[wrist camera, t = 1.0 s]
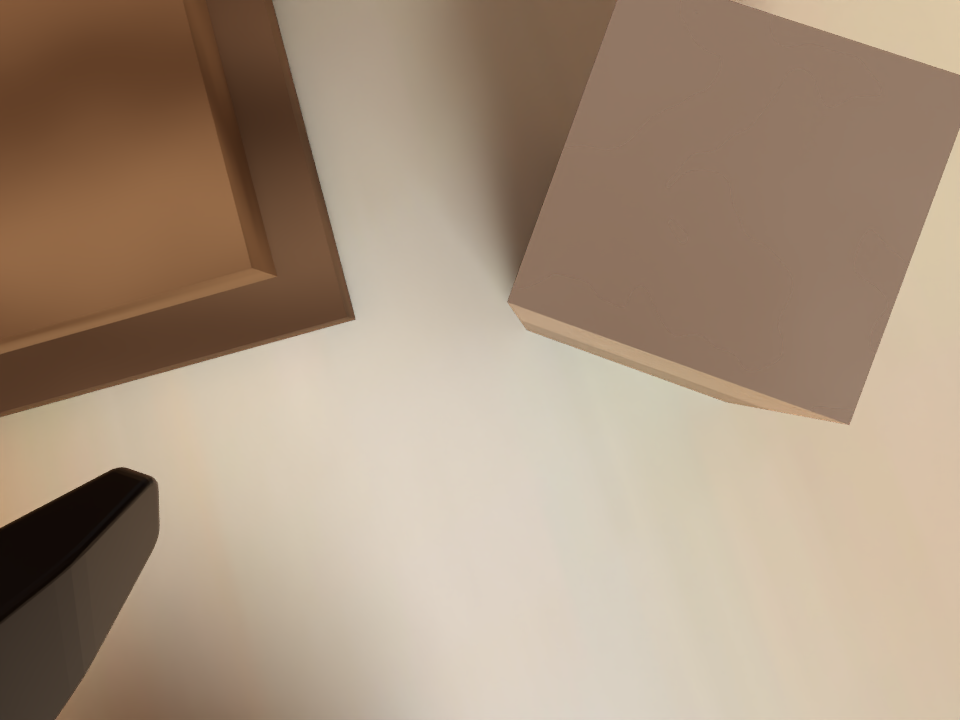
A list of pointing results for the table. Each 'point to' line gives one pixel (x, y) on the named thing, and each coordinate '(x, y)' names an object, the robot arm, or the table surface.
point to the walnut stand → (151, 194)
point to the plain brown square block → (738, 204)
